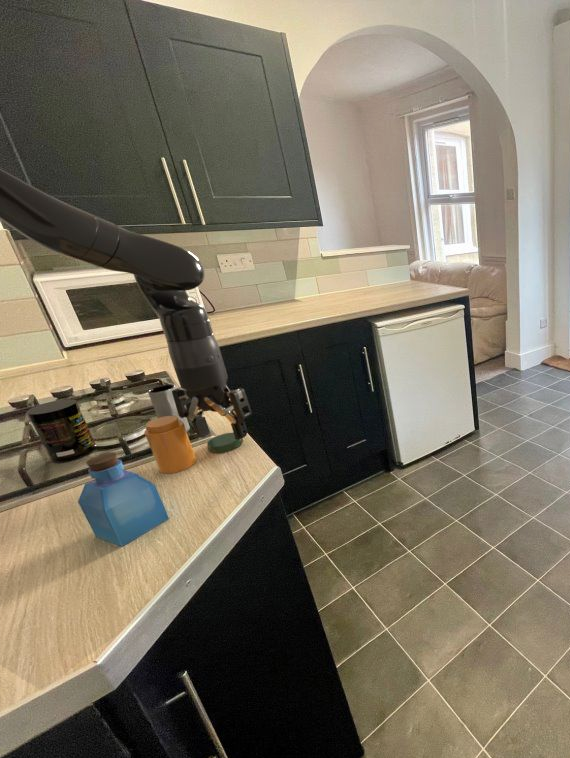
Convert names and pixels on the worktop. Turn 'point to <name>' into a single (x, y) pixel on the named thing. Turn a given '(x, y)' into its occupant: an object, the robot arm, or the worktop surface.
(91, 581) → the worktop surface
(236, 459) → the worktop surface
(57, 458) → the supplement container
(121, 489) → the perfume bottle
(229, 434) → the lid
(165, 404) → the planter
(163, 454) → the jar
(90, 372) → the worktop surface
